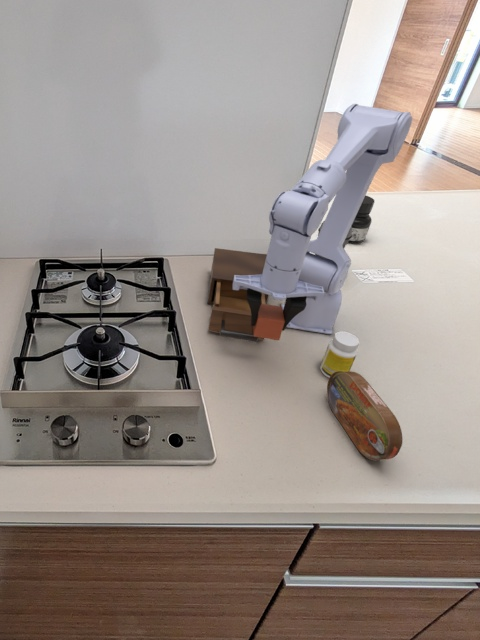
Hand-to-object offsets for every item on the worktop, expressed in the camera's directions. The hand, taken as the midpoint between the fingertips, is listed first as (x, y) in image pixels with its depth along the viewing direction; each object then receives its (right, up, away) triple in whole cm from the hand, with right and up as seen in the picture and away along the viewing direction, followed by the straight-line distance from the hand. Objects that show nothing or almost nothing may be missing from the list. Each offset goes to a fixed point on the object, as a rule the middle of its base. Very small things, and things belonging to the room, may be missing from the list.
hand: (266, 324), depth 80 cm
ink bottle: (+41, +20, +47) cm, 65 cm away
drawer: (-1, -1, +13) cm, 14 cm away
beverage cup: (+26, +9, +31) cm, 42 cm away
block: (0, -1, +1) cm, 1 cm away
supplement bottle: (+14, -9, +3) cm, 17 cm away
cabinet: (+2, +5, +25) cm, 25 cm away
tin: (+11, -16, -8) cm, 21 cm away
